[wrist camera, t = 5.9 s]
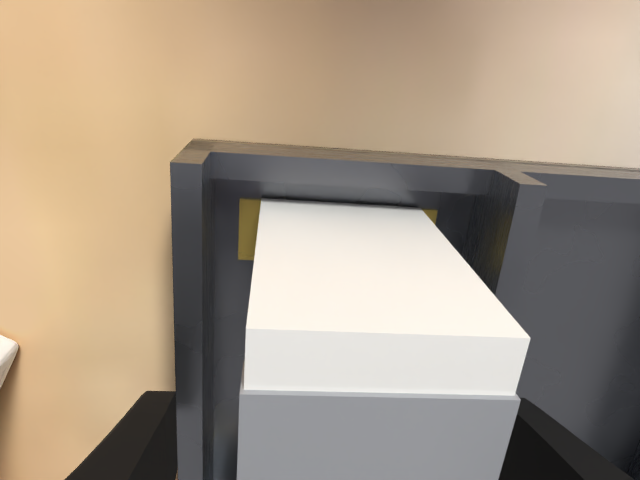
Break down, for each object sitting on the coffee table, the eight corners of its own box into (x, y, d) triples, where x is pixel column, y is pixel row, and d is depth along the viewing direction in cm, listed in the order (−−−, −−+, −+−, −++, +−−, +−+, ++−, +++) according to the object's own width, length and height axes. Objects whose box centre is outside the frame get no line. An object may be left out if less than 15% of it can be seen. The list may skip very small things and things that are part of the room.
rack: (743, 175, 14) (859, 207, 11) (623, 487, 18) (687, 568, 15) (193, 138, 12) (168, 164, 9) (196, 487, 16) (178, 577, 13)
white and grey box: (422, 208, 13) (537, 342, 7) (381, 452, 16) (439, 687, 10) (259, 197, 12) (241, 332, 7) (248, 450, 15) (229, 695, 9)
